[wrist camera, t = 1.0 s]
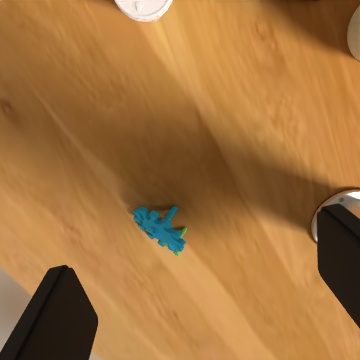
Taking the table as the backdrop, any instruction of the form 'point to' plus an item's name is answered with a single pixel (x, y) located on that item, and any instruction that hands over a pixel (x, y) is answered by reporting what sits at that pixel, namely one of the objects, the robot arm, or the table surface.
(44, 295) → the robot arm
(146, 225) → the gear
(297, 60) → the table surface
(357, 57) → the reusable coffee cup
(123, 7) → the smoothie
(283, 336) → the table surface
